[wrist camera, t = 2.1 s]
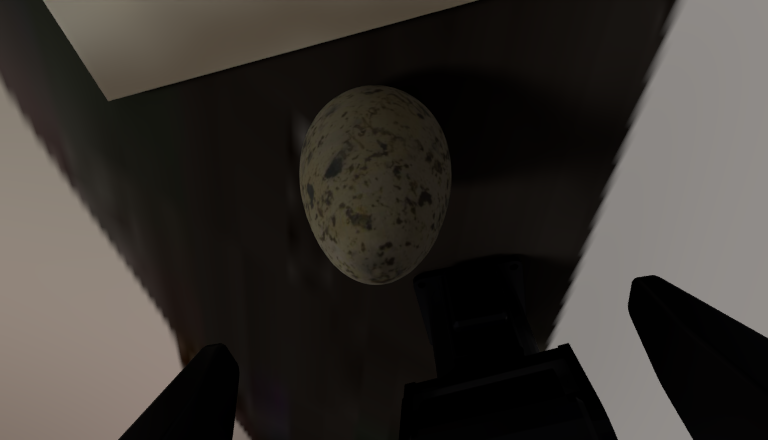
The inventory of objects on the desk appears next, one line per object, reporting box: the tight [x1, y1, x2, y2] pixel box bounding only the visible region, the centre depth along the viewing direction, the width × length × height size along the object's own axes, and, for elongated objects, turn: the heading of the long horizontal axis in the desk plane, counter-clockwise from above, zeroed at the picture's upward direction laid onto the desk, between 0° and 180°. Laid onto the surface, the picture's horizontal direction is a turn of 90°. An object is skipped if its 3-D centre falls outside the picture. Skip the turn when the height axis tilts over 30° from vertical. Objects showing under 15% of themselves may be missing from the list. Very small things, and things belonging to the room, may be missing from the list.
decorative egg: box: [300, 85, 451, 285], centre depth 16 cm, size 6×6×10 cm
